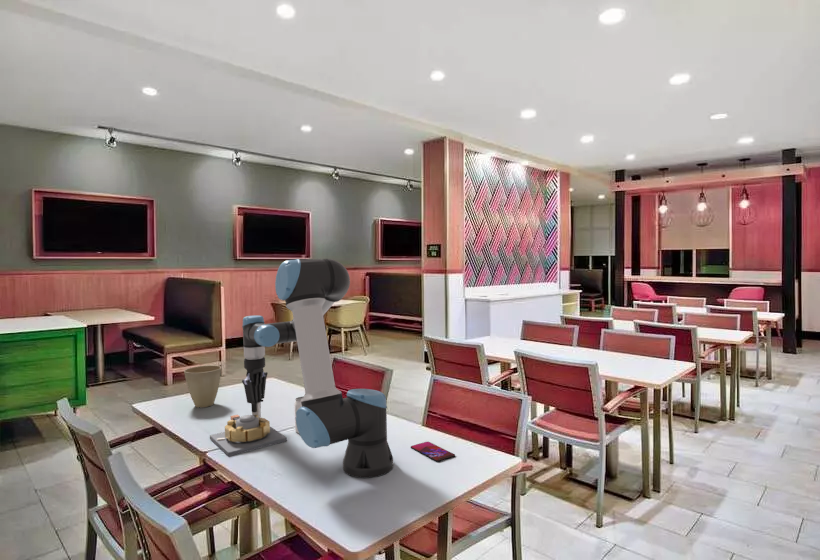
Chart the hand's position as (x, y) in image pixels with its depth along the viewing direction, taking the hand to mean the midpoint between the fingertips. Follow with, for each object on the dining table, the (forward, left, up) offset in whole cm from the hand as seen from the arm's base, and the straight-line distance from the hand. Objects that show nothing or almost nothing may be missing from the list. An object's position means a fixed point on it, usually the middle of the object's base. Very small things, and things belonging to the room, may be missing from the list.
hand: (256, 419), depth 184 cm
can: (-15, -12, -3) cm, 20 cm away
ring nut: (-7, +7, -1) cm, 10 cm away
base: (-10, +7, -3) cm, 13 cm away
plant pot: (+43, +7, -3) cm, 44 cm away
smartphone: (-60, -35, -4) cm, 70 cm away
